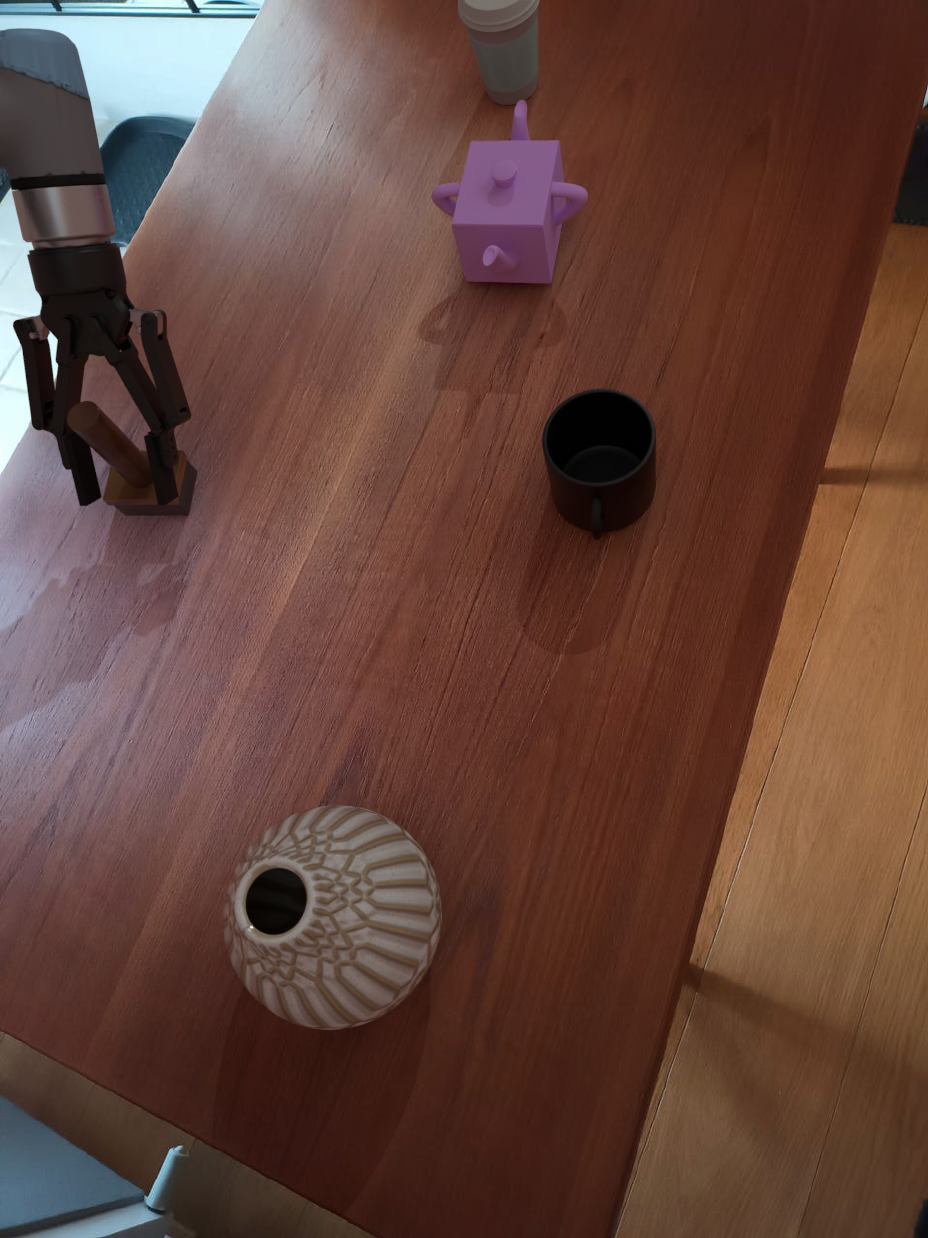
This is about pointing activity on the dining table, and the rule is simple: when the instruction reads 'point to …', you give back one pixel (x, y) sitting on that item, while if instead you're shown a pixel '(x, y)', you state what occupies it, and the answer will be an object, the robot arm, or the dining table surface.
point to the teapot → (510, 207)
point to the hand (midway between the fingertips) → (129, 500)
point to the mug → (601, 459)
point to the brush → (129, 466)
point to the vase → (332, 917)
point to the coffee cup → (504, 45)
